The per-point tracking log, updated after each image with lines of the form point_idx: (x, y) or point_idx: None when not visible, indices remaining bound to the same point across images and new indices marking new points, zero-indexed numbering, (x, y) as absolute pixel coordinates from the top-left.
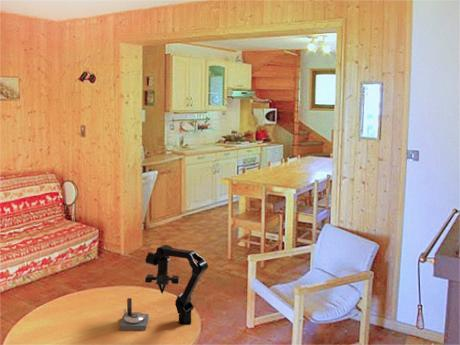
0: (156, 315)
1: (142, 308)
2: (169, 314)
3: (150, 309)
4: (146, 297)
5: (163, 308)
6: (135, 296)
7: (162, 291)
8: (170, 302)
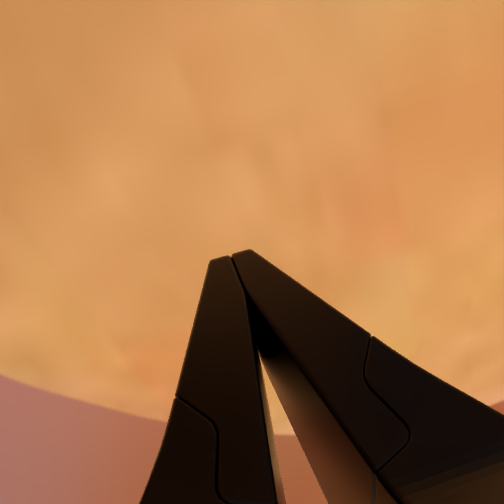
0: (223, 41)
1: (412, 163)
2: (64, 120)
3: (330, 169)
4: (398, 338)
5: (203, 232)
6: (476, 320)
7: (227, 293)
8: (182, 349)
